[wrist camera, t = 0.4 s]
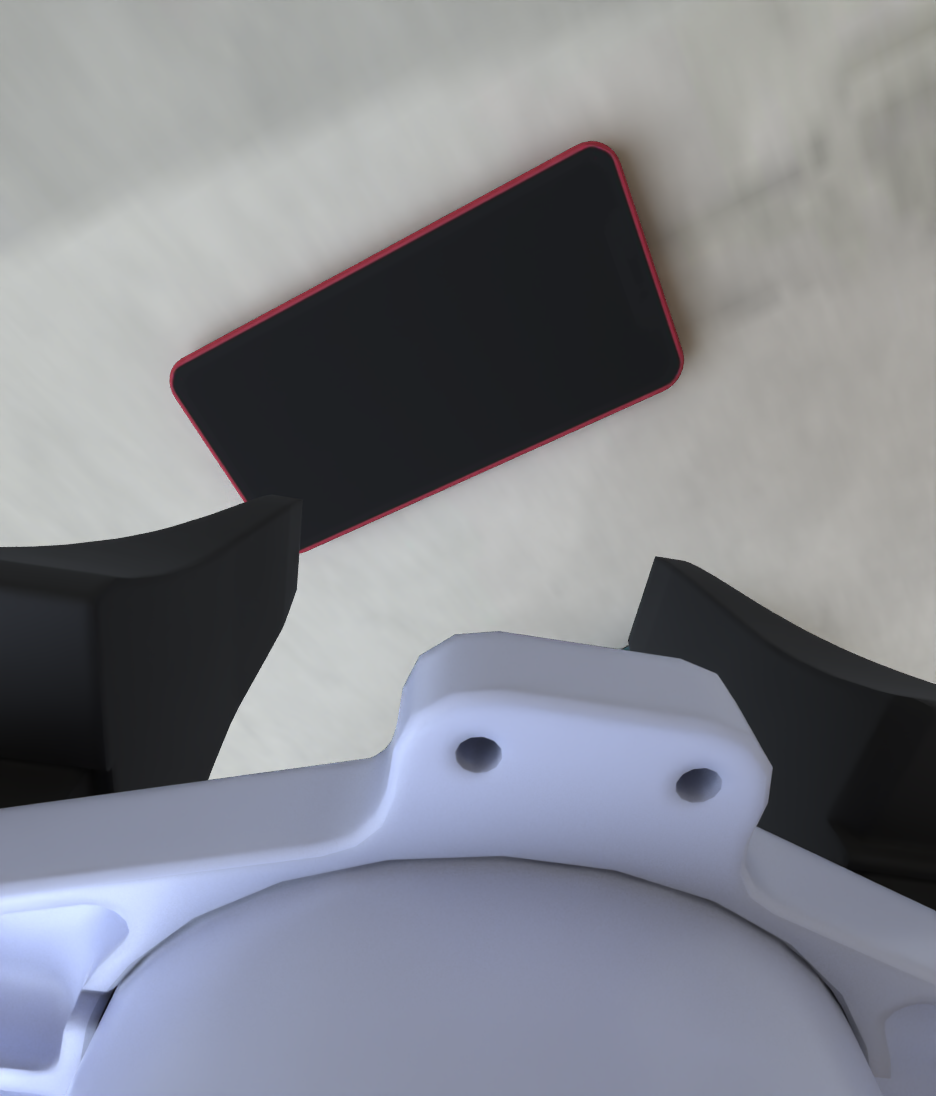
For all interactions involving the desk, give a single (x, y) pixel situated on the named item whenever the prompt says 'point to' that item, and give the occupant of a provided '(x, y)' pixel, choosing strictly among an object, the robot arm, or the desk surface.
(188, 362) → the smartphone
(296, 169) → the desk surface
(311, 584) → the desk surface
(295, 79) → the desk surface
